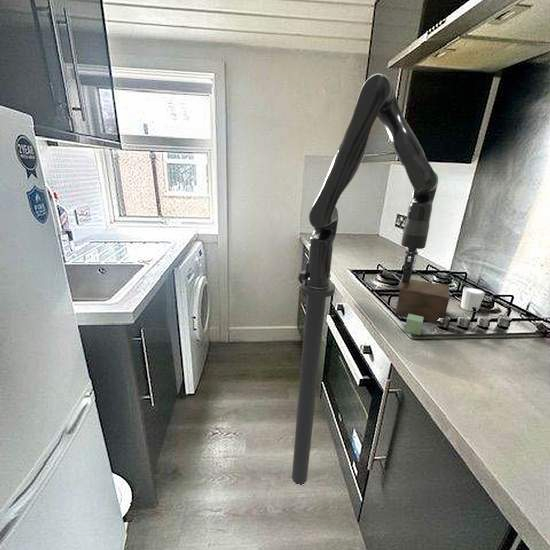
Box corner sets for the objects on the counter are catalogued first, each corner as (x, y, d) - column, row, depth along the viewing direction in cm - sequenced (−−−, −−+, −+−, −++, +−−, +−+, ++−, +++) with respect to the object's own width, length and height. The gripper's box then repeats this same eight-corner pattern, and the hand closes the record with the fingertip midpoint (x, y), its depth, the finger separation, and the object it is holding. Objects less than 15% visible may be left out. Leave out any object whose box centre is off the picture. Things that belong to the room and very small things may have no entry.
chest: (395, 314, 104) (400, 290, 102) (400, 301, 115) (404, 280, 112) (442, 324, 98) (449, 300, 95) (443, 310, 109) (448, 288, 106)
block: (404, 331, 93) (407, 318, 91) (405, 325, 96) (408, 313, 95) (420, 335, 91) (422, 322, 89) (420, 329, 94) (423, 316, 93)
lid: (396, 289, 102) (399, 274, 100) (401, 279, 113) (403, 265, 111) (449, 299, 95) (453, 283, 94) (448, 288, 106) (452, 273, 104)
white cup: (473, 304, 115) (477, 287, 113) (484, 312, 109) (489, 294, 107) (455, 303, 116) (459, 286, 113) (465, 311, 109) (470, 293, 107)
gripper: (405, 228, 108) (397, 273, 114) (400, 234, 96) (392, 284, 102) (428, 231, 105) (419, 277, 110) (426, 237, 93) (416, 289, 98)
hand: (406, 280), depth 106 cm, fingers closed on lid, 5 cm apart
